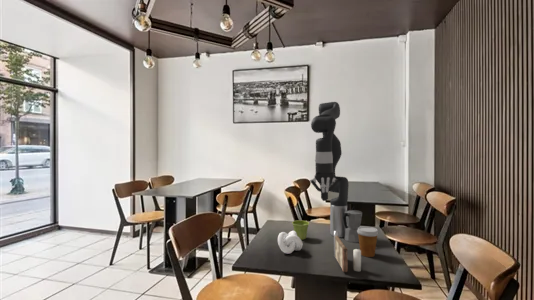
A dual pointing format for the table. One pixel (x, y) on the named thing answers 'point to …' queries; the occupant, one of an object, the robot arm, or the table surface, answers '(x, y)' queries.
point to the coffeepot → (352, 224)
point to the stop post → (357, 260)
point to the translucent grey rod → (334, 240)
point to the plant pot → (301, 228)
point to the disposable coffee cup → (367, 240)
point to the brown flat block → (341, 253)
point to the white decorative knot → (289, 242)
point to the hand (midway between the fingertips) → (324, 200)
